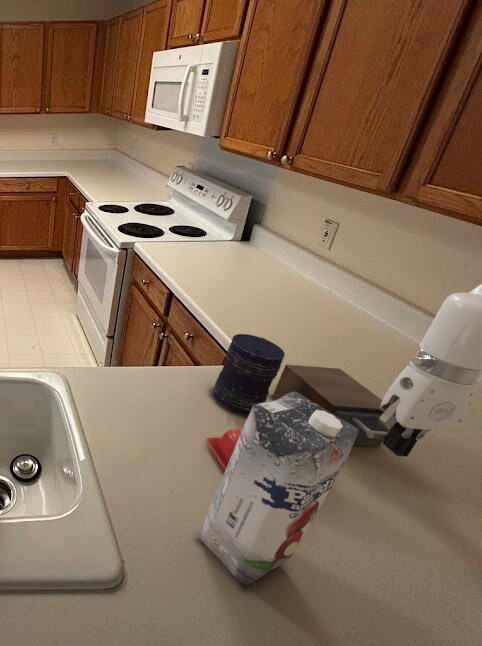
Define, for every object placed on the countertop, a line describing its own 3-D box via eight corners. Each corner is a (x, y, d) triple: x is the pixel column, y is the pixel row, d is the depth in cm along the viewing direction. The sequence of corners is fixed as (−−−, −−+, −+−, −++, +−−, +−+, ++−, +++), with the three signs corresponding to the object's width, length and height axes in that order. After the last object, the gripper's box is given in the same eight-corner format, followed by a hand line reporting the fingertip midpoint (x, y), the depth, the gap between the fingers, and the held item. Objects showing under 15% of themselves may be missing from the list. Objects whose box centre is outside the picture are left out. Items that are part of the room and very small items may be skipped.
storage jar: (214, 382, 100) (237, 317, 93) (261, 399, 95) (289, 332, 88) (209, 403, 92) (234, 334, 85) (260, 423, 87) (291, 352, 80)
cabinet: (375, 445, 84) (396, 410, 81) (315, 441, 84) (333, 405, 80) (324, 400, 97) (339, 368, 93) (271, 396, 96) (285, 364, 93)
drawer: (403, 466, 78) (421, 436, 75) (344, 462, 78) (361, 432, 75) (330, 404, 94) (343, 377, 91) (282, 400, 94) (293, 374, 91)
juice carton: (189, 536, 62) (248, 393, 52) (234, 514, 66) (297, 377, 56) (245, 598, 55) (326, 444, 45) (292, 568, 59) (375, 421, 49)
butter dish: (233, 492, 70) (250, 455, 67) (201, 441, 81) (214, 407, 78) (300, 498, 70) (319, 461, 67) (259, 446, 81) (274, 412, 78)
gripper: (425, 377, 64) (373, 465, 71) (515, 383, 64) (455, 469, 71) (380, 350, 71) (337, 432, 78) (462, 355, 71) (412, 436, 78)
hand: (394, 450), depth 74 cm, fingers closed
